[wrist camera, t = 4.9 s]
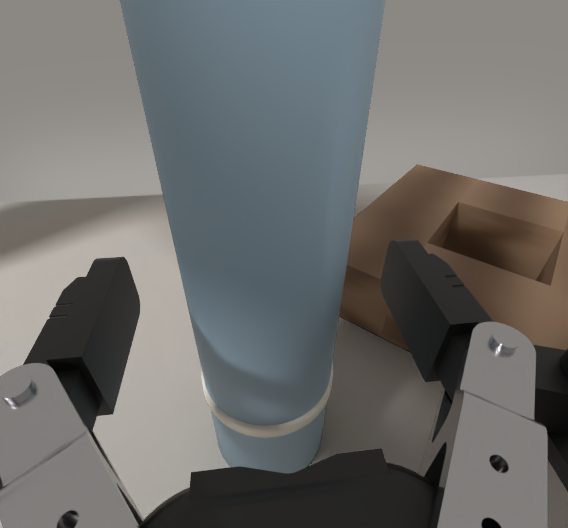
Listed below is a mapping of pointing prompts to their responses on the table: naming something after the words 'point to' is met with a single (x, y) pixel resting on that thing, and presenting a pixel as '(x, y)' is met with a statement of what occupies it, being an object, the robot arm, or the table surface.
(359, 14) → the peg
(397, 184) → the socket block
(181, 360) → the table surface
